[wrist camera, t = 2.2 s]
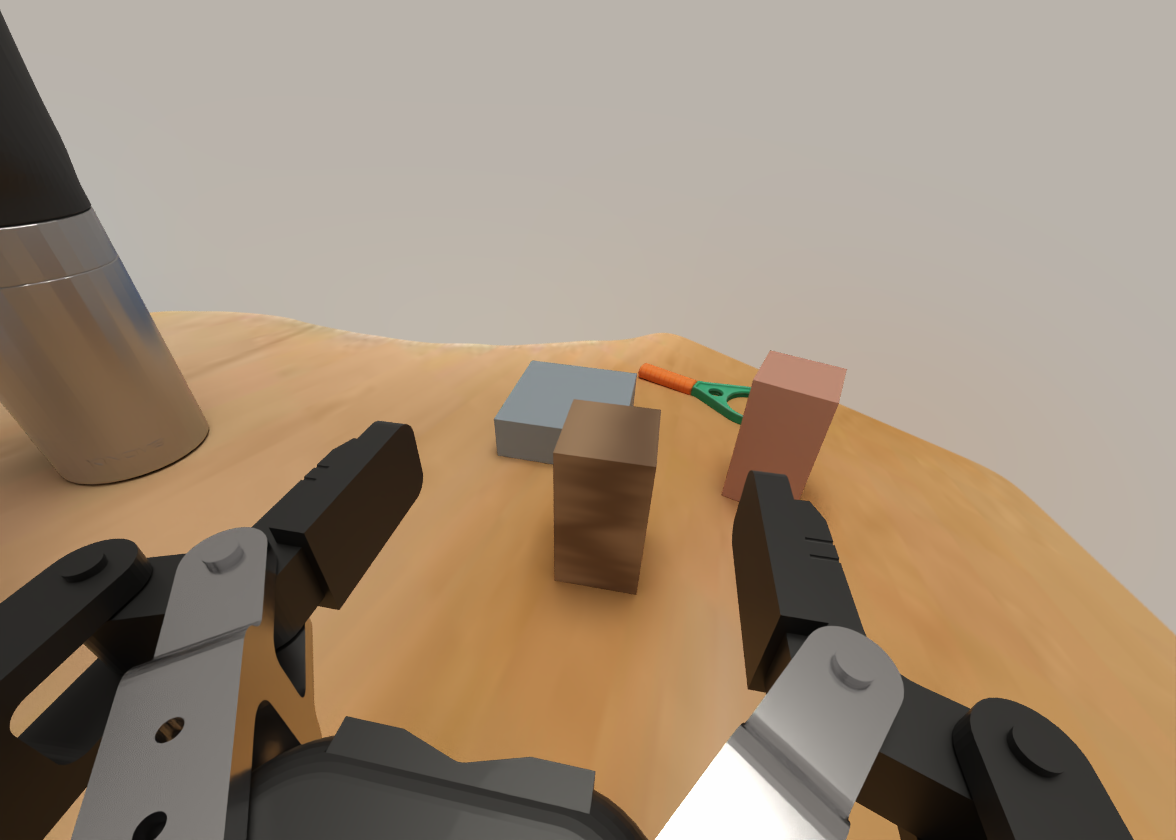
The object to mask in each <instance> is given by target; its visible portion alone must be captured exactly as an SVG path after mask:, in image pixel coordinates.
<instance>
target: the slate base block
mask: <svg viewBox="0 0 1176 840" xmlns="http://www.w3.org/2000/svg"><path fill="white" fill-rule="evenodd" d="M636 377H637V374H636V373H628V372H620V371H612V370H604V369H596V368H588V367H580V366H572V365H564V364H556V363H548V362H540V361H531V363H530V364H529V366H528V367H527V369H526V370H525V372H524V374H523V375H522V377H521V378H520V380H519V381H518V383H517V384H516V386H515V387H514V389H513V390H512V392H511V394H510V395H509V397H508V398H507V400H506V401H505V403H504V404H503V406H502V407H501V409H500V410H499V412H498V414H497V415H496V417H495V418H494V424H495V434H496V444H497V453H498V456H504V457H511V458H517V459H523V460H530V461H536V462H542V463H549V464H553V452H554V449H555V447H556V444H557V441H558V439H559V436H560V433H561V431H562V428H563V426H564V423H565V420H566V418H567V415H568V412H569V410H570V407H571V404H572V402H573V399H577V400H585V401H593V402H601V403H609V404H617V405H626V406H633V405H634V396H635V386H636Z"/></svg>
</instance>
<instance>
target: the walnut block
mask: <svg viewBox="0 0 1176 840" xmlns="http://www.w3.org/2000/svg"><path fill="white" fill-rule="evenodd" d="M660 415H661V410H658V409H650V408H642V407H634V406H626V405H617V404H609V403H601V402H593V401H585V400H577V399H573V402H572V404H571V407H570V410H569V412H568V415H567V418H566V420H565V423H564V426H563V428H562V431H561V433H560V436H559V439H558V441H557V444H556V447H555V449H554V452H553V484H554V578H555V581H561V582H567V583H572V584H578V585H584V586H590V587H595V588H601V589H607V590H613V591H618V592H624V593H630V594H636V593H637V587H638V580H639V574H640V567H641V561H642V555H643V548H644V542H645V536H646V529H647V523H648V517H649V510H650V504H651V497H652V491H653V485H654V478H655V472H656V464H657V452H658V440H659V428H660Z"/></svg>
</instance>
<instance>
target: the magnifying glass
mask: <svg viewBox="0 0 1176 840" xmlns="http://www.w3.org/2000/svg"><path fill="white" fill-rule="evenodd" d="M638 374H639V377H640V378H643V379H646V380H648V381H651V382H654V383H657V384H660V385H662V386H665V387H668V388H671V389H674V390H677V391H680V392H683V393H685V394H688V395H692V396H694V397H696V398H698V399H700V400H701V401H702V402H704V403H705V404H707V405H708V406H710V407H711V408H713V409H714V410H716V411H717V412H719V413H720V414H722V415H723V416H724V417H726V418H727V419H729V420H731V421H733V422H735V423H737V424H740V425H741V423H742V419H743V415H741V414H739V413H737V412H735V411H734V410H732V409H731V408H730V407H729V406H728V404H727V401H728V400H730V399H732V398H737V397H749V394H750V390H751V387H746V386H737V385H728V384H719V383H709V382H702V381H696V380H694V379H691V378H688V377H685V376H682V375H679V374H676V373H673V372H670V371H667V370H664V369H662V368H659V367H656V366H653V365H650V364H647V363H645V364H643V365H642V366H641V367H640V369H639V372H638ZM714 395H717V396H714Z"/></svg>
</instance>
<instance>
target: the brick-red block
mask: <svg viewBox="0 0 1176 840" xmlns="http://www.w3.org/2000/svg"><path fill="white" fill-rule="evenodd" d="M846 370H847V369H844V368H840V367H836V366H832V365H828V364H823V363H819V362H815V361H811V360H807V359H803V358H799V357H795V356H791V355H787V354H782V353H779V352H775V351H771V350H770V352H769V353H768V355H767V357H766V359H765V360H764V362H763V364H762V366H761V367H760V369H759V371H758V372H757V374H756V376H755V378H754V379H753V383H752V386H751V390H750V394H749V397H748V401H747V404H746V408H745V412H744V415H743V419H742V423H741V426H740V430H739V433H738V437H737V441H736V444H735V448H734V451H733V455H732V459H731V462H730V466H729V470H728V473H727V477H726V480H725V484H724V488H723V491H722V495H723V496H725V497H728V498H730V499H733V500H736V501H738V502H740V498H741V495H742V491H743V488H744V484H745V481H746V478H747V475H748V473H749V471H750V470H754V471H762V472H770V473H777V474H785V475H786V476H787V477H788V480H789V483H790V487H791V490H792V494H793V497H794V499H795V500H799V499H800V496H801V494H802V492H803V489H804V487H805V484H806V482H807V479H808V477H809V475H810V472H811V470H812V467H813V465H814V462H815V460H816V458H817V455H818V453H819V450H820V448H821V445H822V443H823V441H824V438H825V436H826V433H827V431H828V428H829V426H830V424H831V421H832V419H833V416H834V414H835V411H836V409H837V407H838V404H839V400H840V396H841V392H842V388H843V383H844V379H845V375H846Z"/></svg>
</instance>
